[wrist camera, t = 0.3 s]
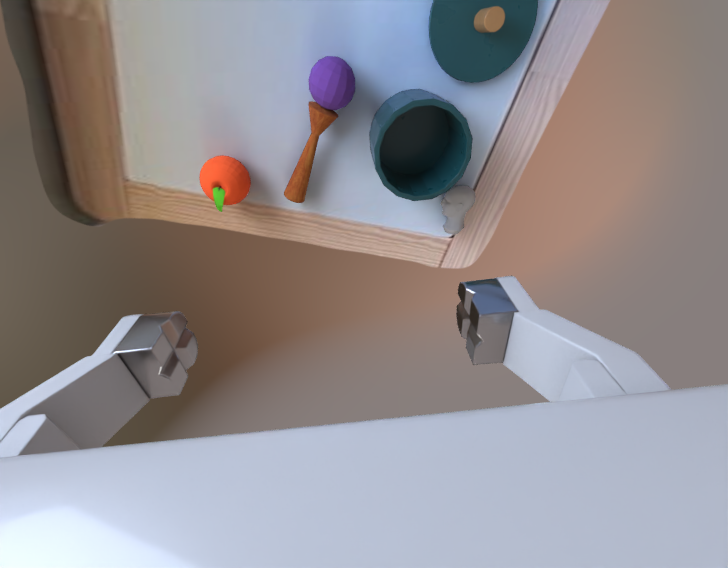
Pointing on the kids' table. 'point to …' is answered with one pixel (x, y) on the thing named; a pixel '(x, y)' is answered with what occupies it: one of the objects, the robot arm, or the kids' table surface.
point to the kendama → (321, 115)
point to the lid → (480, 35)
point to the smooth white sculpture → (457, 207)
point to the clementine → (224, 181)
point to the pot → (419, 144)
